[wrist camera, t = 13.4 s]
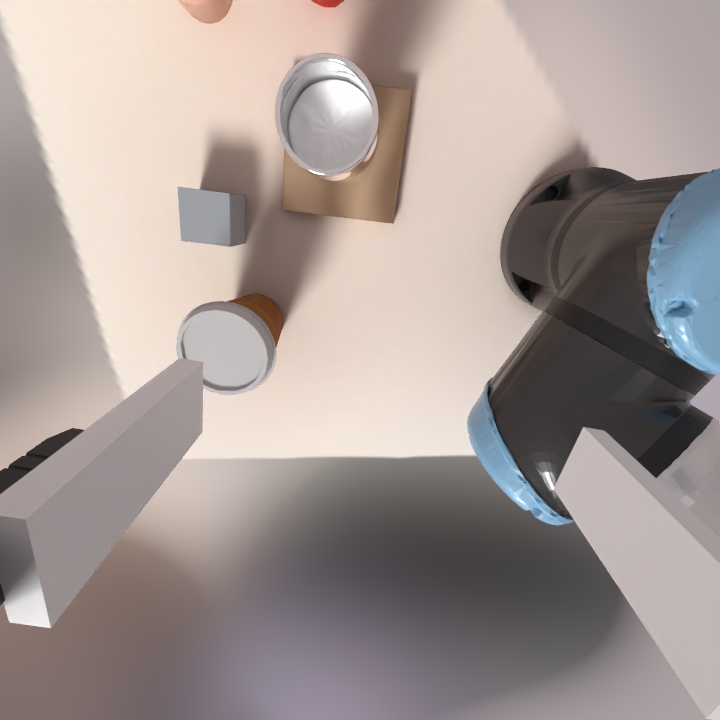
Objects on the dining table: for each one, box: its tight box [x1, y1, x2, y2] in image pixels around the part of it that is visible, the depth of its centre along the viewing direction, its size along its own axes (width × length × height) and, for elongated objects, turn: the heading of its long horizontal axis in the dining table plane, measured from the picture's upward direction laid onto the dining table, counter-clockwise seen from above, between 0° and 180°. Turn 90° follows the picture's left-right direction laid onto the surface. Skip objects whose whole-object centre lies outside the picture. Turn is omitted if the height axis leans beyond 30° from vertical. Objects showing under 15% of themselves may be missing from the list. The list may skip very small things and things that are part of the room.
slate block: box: [178, 187, 245, 247], centre depth 38 cm, size 5×5×5 cm
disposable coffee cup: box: [176, 295, 283, 395], centre depth 39 cm, size 10×10×12 cm
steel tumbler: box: [275, 53, 380, 186], centre depth 30 cm, size 7×7×15 cm
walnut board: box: [283, 85, 412, 224], centre depth 37 cm, size 12×12×2 cm
